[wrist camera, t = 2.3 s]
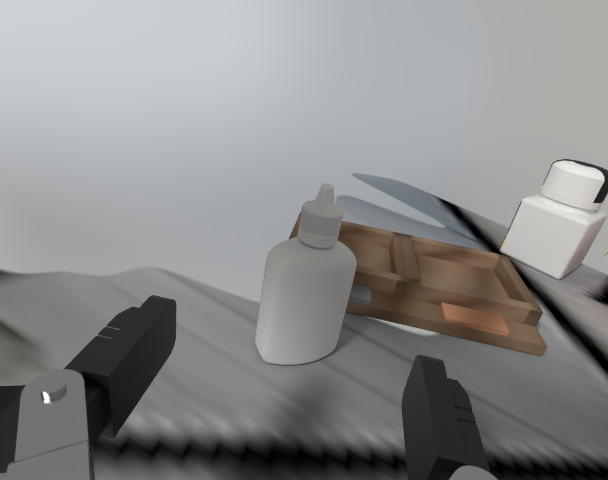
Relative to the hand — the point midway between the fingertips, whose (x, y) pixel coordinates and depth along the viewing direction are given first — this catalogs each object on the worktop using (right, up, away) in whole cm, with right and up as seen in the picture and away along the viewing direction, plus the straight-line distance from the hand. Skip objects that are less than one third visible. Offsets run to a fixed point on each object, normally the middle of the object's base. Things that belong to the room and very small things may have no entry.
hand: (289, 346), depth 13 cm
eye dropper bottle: (0, -4, +15) cm, 15 cm away
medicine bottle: (+29, +1, +35) cm, 46 cm away
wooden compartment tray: (+10, 0, +26) cm, 27 cm away
